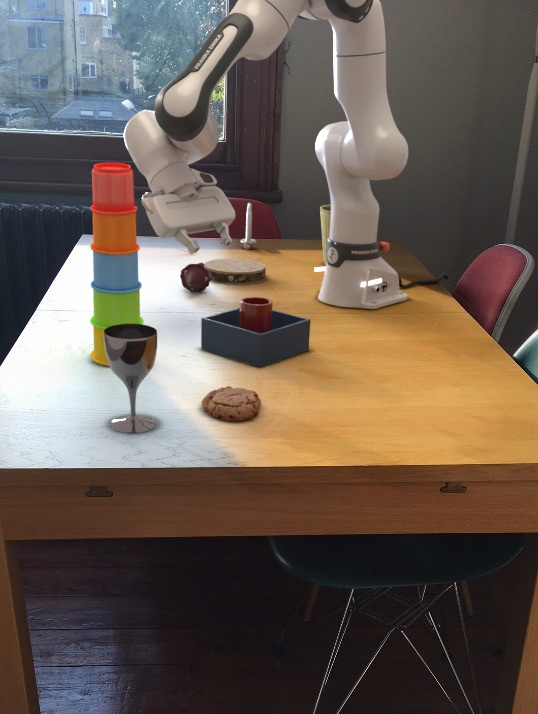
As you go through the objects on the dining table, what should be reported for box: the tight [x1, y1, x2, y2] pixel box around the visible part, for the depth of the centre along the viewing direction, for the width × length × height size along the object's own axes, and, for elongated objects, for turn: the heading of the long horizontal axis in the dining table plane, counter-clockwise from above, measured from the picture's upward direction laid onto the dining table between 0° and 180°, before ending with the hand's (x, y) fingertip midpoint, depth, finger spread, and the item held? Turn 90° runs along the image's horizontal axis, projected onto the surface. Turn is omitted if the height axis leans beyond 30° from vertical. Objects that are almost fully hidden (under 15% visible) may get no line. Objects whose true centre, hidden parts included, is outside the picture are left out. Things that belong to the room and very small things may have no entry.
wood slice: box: [204, 258, 267, 285], centre depth 227 cm, size 16×16×3 cm
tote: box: [200, 307, 312, 368], centre depth 172 cm, size 15×15×6 cm
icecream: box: [179, 262, 211, 293], centre depth 211 cm, size 7×7×15 cm
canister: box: [239, 296, 274, 334], centre depth 171 cm, size 6×6×9 cm
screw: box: [239, 202, 258, 250], centre depth 257 cm, size 13×5×5 cm
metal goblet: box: [104, 324, 158, 434], centre depth 135 cm, size 8×8×15 cm
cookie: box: [201, 385, 262, 422], centre depth 144 cm, size 10×11×3 cm
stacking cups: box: [89, 162, 145, 367], centre depth 158 cm, size 10×10×35 cm
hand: (212, 248), depth 172 cm, fingers open, 8 cm apart
